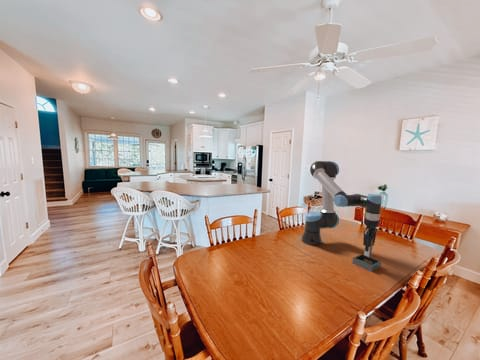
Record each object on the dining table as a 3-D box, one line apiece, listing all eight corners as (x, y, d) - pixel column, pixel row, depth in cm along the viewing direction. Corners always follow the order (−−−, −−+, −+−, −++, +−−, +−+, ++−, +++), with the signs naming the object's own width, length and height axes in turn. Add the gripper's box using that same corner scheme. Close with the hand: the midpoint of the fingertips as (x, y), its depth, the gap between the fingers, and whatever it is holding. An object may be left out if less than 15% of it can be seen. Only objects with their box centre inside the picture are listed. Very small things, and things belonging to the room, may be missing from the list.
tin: (352, 262, 131) (352, 257, 130) (361, 258, 137) (362, 253, 136) (371, 271, 121) (372, 266, 120) (380, 266, 127) (381, 261, 127)
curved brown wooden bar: (364, 256, 129) (366, 238, 127) (365, 255, 130) (367, 237, 129) (369, 258, 126) (371, 239, 125) (370, 257, 127) (373, 239, 126)
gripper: (372, 222, 118) (368, 260, 121) (384, 219, 126) (379, 255, 129) (359, 219, 124) (355, 255, 127) (371, 216, 133) (367, 250, 135)
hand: (367, 255), depth 128 cm, fingers closed on curved brown wooden bar, 2 cm apart
